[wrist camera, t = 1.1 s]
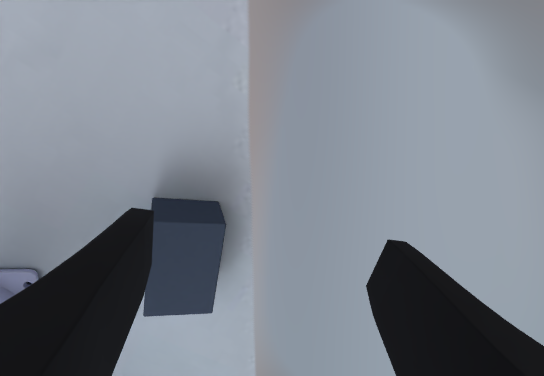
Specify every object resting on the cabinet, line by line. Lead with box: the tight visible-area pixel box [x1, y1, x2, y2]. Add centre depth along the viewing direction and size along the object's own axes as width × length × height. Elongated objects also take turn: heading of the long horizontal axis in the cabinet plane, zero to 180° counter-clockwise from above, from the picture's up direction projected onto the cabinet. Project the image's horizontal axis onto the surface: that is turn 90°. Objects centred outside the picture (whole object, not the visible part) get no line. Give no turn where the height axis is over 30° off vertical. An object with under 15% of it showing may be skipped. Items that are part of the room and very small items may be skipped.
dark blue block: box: [143, 198, 226, 316], centre depth 23 cm, size 7×4×4 cm, turn 169°
